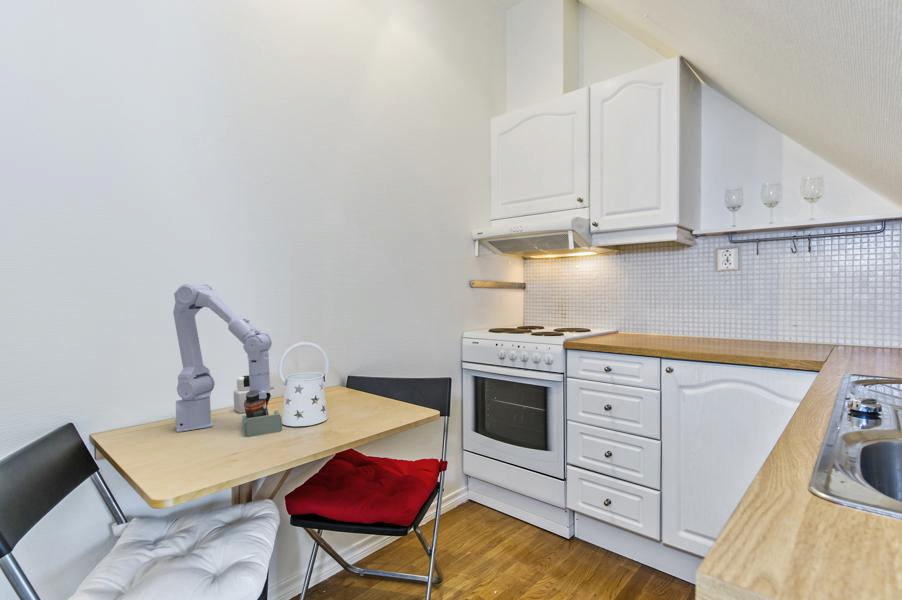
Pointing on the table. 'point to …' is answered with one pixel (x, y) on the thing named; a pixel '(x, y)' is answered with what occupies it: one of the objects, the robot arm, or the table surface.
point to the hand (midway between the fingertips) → (261, 418)
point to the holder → (262, 424)
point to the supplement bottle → (255, 405)
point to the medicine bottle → (241, 393)
